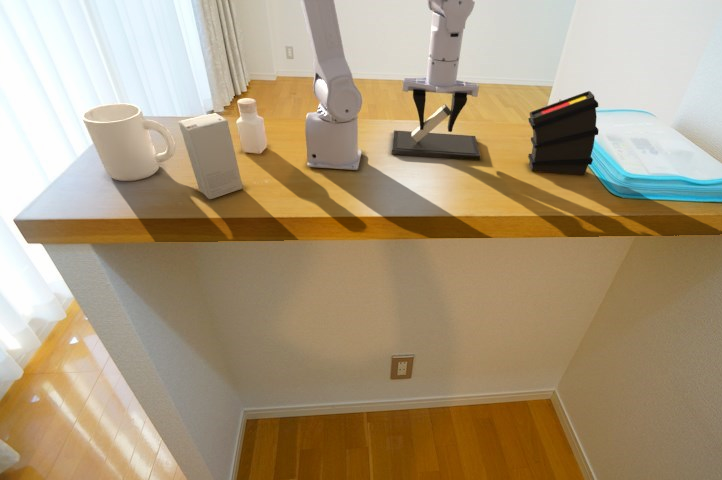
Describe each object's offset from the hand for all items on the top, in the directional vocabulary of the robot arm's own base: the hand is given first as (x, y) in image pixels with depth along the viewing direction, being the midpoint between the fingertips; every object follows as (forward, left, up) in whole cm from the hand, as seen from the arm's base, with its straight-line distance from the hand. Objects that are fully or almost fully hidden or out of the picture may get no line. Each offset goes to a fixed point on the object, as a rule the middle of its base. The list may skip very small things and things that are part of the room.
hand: (435, 128), depth 85 cm
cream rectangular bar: (-4, 0, -2) cm, 5 cm away
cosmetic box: (-37, -23, -4) cm, 44 cm away
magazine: (+23, -7, -4) cm, 25 cm away
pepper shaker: (-36, -7, -4) cm, 37 cm away
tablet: (0, 0, -4) cm, 4 cm away
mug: (-52, -18, -4) cm, 55 cm away
